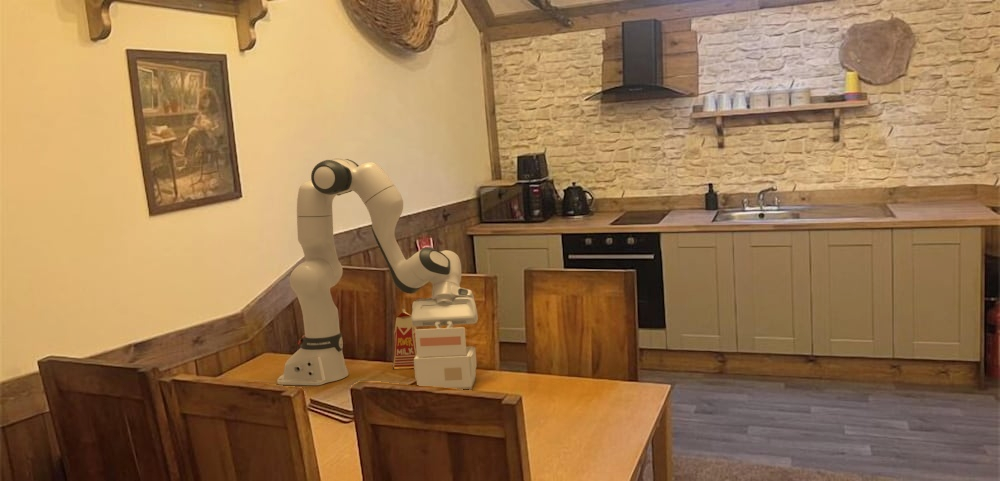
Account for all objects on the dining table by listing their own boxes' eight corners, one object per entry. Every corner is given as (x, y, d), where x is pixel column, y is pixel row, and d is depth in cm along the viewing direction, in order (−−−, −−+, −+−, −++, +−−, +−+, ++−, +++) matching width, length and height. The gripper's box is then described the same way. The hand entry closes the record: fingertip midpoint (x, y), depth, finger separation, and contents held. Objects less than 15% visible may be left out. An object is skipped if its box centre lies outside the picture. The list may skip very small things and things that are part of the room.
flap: (417, 356, 214) (416, 356, 213) (415, 329, 214) (414, 329, 213) (466, 354, 213) (466, 354, 212) (464, 327, 212) (464, 327, 212)
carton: (415, 392, 215) (413, 359, 214) (423, 379, 228) (421, 348, 227) (473, 390, 214) (470, 356, 212) (477, 377, 226) (475, 345, 225)
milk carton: (420, 368, 241) (415, 309, 238) (392, 370, 241) (387, 310, 239) (423, 361, 250) (419, 303, 248) (396, 362, 250) (392, 305, 248)
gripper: (410, 293, 225) (406, 331, 216) (476, 290, 223) (475, 328, 214) (414, 304, 230) (411, 342, 221) (479, 301, 228) (477, 339, 219)
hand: (443, 335), depth 218 cm, fingers closed
